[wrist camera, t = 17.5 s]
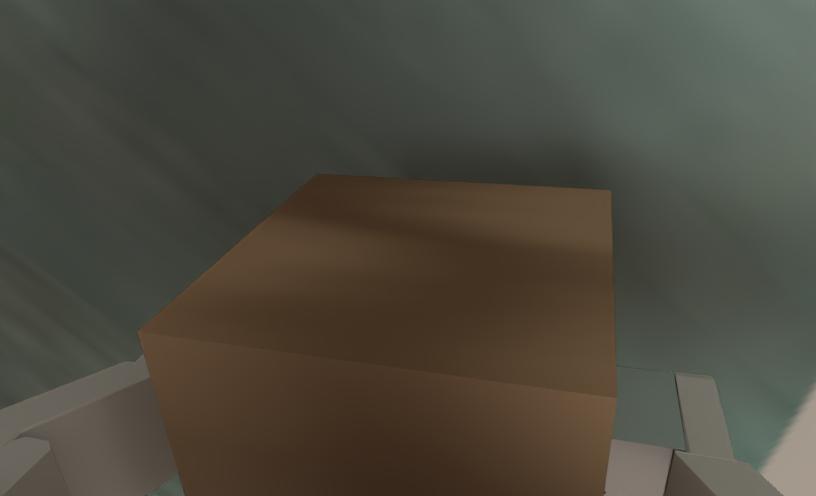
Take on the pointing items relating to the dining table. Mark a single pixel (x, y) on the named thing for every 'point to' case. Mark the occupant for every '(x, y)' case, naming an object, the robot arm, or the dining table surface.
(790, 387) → the dining table surface
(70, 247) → the dining table surface
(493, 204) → the cube
